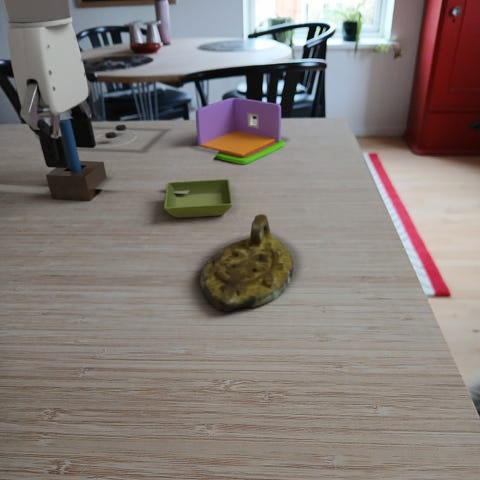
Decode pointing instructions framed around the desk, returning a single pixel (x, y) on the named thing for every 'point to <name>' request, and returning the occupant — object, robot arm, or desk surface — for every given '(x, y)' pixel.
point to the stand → (77, 181)
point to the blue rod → (70, 145)
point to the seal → (248, 270)
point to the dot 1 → (110, 135)
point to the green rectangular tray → (198, 198)
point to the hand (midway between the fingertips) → (72, 155)
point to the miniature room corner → (240, 129)
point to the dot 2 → (120, 127)
